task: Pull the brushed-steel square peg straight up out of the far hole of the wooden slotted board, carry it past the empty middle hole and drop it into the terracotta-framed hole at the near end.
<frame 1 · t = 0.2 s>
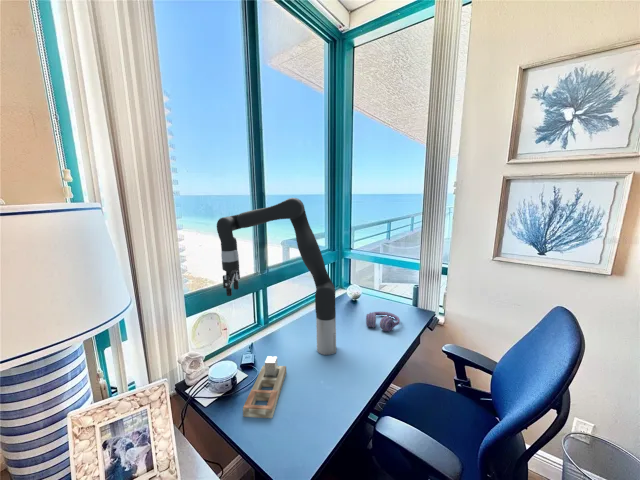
hand: (233, 292, 124), 29 cm above the table, tool pointing down, fingers open, 8 cm apart
steel peg: (272, 379, 106), resting in wooden slotted board
headphones: (382, 324, 149), on the table
wooden slotted board: (267, 392, 99), on the table
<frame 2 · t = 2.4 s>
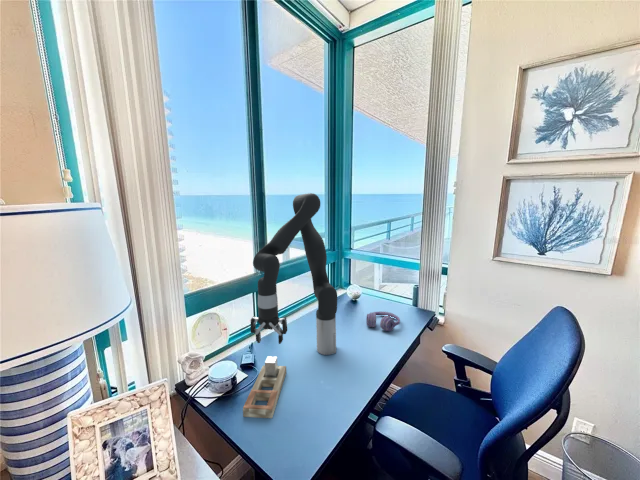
hand: (269, 342, 103), 16 cm above the table, tool pointing down, fingers open, 8 cm apart
nothing on the table moved.
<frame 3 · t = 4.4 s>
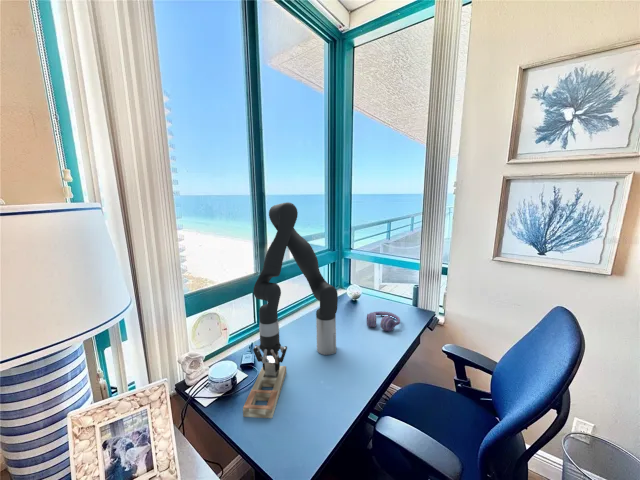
hand: (271, 370, 105), 4 cm above the table, tool pointing down, fingers closed on steel peg, 4 cm apart
steel peg: (272, 379, 105), resting in wooden slotted board, touching gripper
everything else where it was.
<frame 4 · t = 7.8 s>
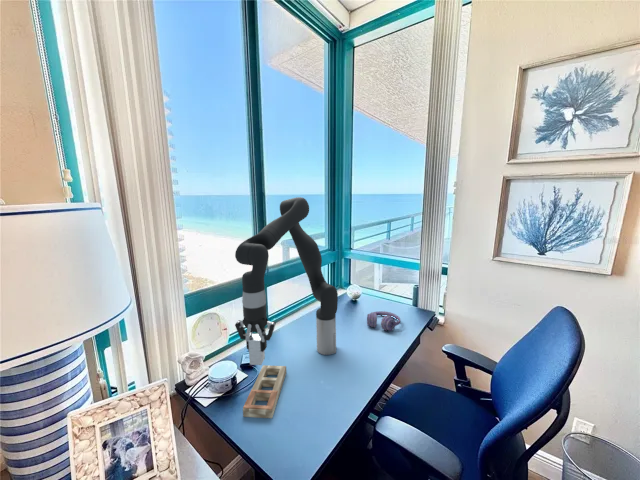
hand: (256, 349, 89), 22 cm above the table, tool pointing down, fingers closed on steel peg, 4 cm apart
steel peg: (257, 361, 89), point 17 cm above the table, touching gripper
everything else where it was.
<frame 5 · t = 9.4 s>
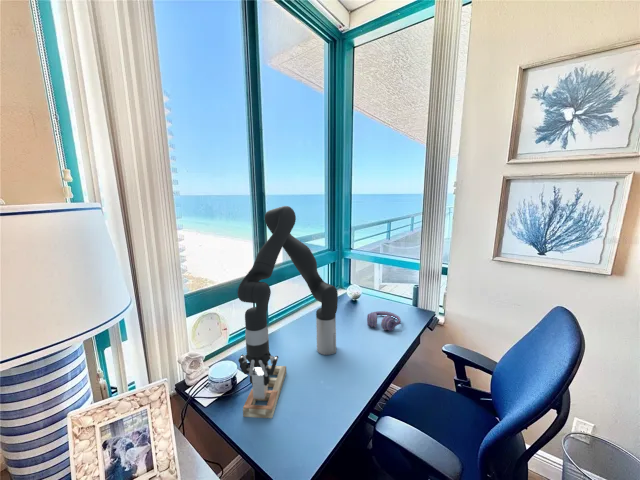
hand: (260, 383, 90), 9 cm above the table, tool pointing down, fingers closed on steel peg, 4 cm apart
steel peg: (260, 394, 91), point 5 cm above the table, touching gripper
everything else where it was.
when the fingers open (5 cm above the table, at t = 11.0 s): steel peg stays where it is, resting in wooden slotted board.
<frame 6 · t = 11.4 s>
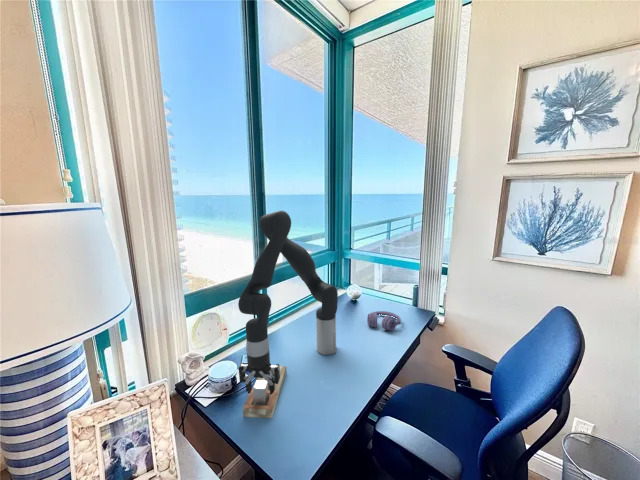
hand: (260, 392, 91), 6 cm above the table, tool pointing down, fingers open, 7 cm apart
steel peg: (262, 407, 92), resting in wooden slotted board
everything else where it was.
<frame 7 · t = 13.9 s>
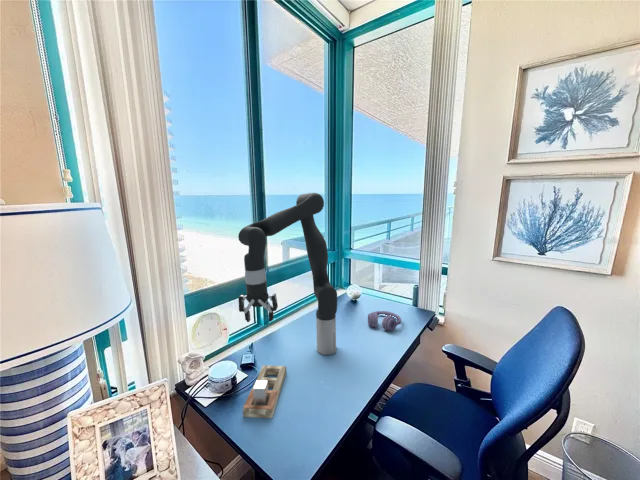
hand: (259, 320, 99), 27 cm above the table, tool pointing down, fingers open, 8 cm apart
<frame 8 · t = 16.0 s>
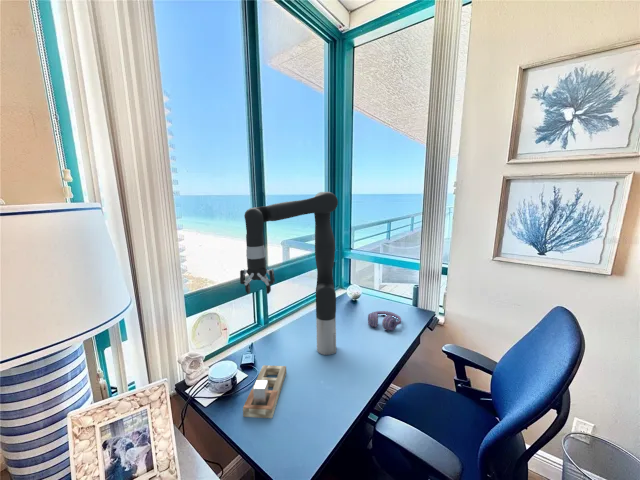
hand: (258, 293, 110), 33 cm above the table, tool pointing down, fingers open, 8 cm apart
at the end: steel peg 0.1 cm from the target spot on the wooden slotted board, point 0.0 cm above the wooden slotted board's base; steel peg tilted 0°; the gripper is holding nothing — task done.
